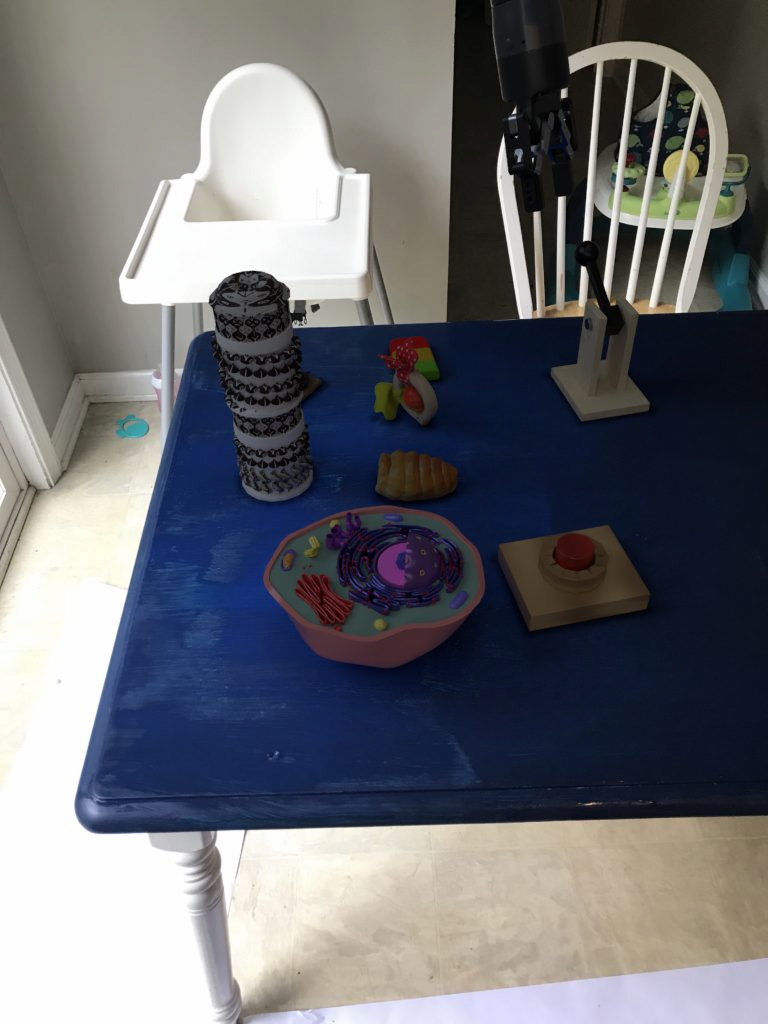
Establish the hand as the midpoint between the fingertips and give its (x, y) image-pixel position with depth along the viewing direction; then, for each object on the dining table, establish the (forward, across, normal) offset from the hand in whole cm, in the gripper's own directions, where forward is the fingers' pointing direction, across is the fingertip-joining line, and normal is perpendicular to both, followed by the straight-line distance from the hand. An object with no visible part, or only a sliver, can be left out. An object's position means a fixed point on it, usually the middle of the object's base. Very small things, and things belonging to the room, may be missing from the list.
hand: (550, 203), depth 96 cm
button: (+29, -30, -11) cm, 43 cm away
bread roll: (+16, -16, +35) cm, 42 cm away
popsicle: (+19, -4, +21) cm, 29 cm away
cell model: (+30, -44, +4) cm, 53 cm away
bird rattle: (+22, -13, +17) cm, 30 cm away
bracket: (+25, +4, -1) cm, 25 cm away
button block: (+32, -29, -10) cm, 45 cm away
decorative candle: (+22, -31, +25) cm, 45 cm away
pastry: (+25, -24, +11) cm, 37 cm away
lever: (+12, +6, -1) cm, 14 cm away
